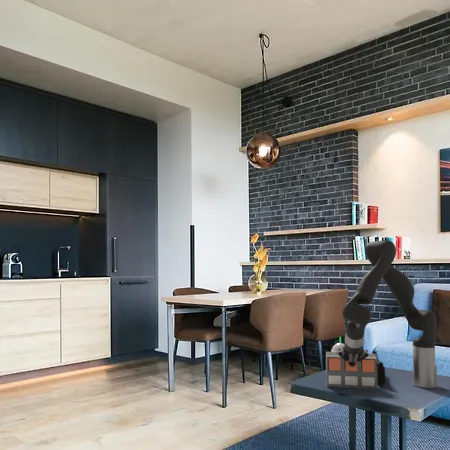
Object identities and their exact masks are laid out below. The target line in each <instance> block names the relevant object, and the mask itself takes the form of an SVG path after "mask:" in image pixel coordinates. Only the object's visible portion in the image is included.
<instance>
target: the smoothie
mask: <svg viewBox="0 0 450 450" xmlns="http://www.w3.org/2000/svg"><path fill="white" fill-rule="evenodd" d="M344 344H345V343H342V337H341V336H339V342H337V343H335V344H334V345H333V346H332V348H331V350H330V352H338V349H341V350H342V349H343V347H344Z"/></svg>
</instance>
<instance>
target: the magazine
mask: <svg viewBox="0 0 450 450" xmlns="http://www.w3.org/2000/svg"><path fill="white" fill-rule="evenodd" d="M371 354H375V355H376V373H377V386H386V384H387V382H386V368H385V366H384V363H383V362H382V361H380V359H379V357H378V354H377V351H376V350H373V351H372V352H371Z"/></svg>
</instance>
